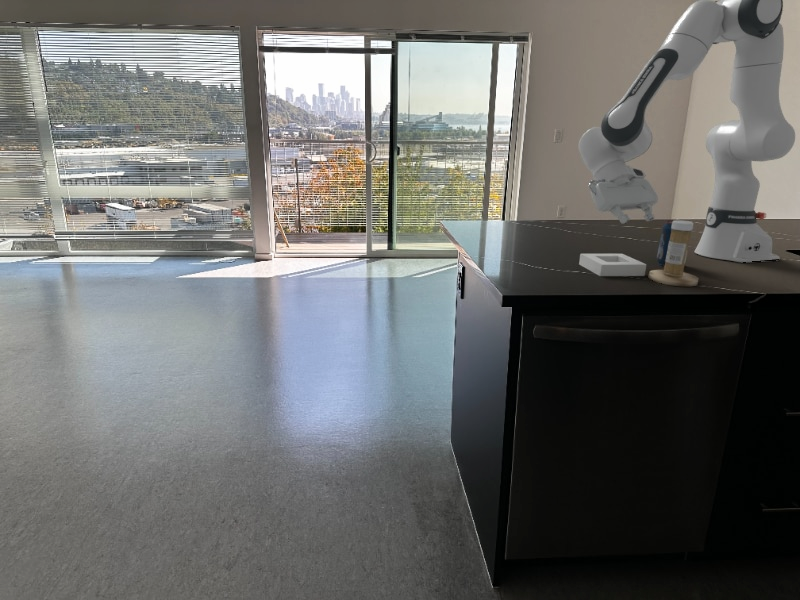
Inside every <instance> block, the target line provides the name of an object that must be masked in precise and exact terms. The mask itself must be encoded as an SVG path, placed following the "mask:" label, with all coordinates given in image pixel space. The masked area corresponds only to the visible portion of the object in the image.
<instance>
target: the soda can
mask: <svg viewBox="0 0 800 600" xmlns="http://www.w3.org/2000/svg"><path fill="white" fill-rule="evenodd" d="M673 221H674V220H666V221H665V224H663V226H662V229H661V233H660V239H659V244H658V249H657V254H656V262H657V264H658V265H659V264H660V265H659V266H661V265H663V266H662V267H665V260H666V255H667V250H668V245H669V240H670V236H671V229H672V228H671V226H672V222H673Z"/></svg>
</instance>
